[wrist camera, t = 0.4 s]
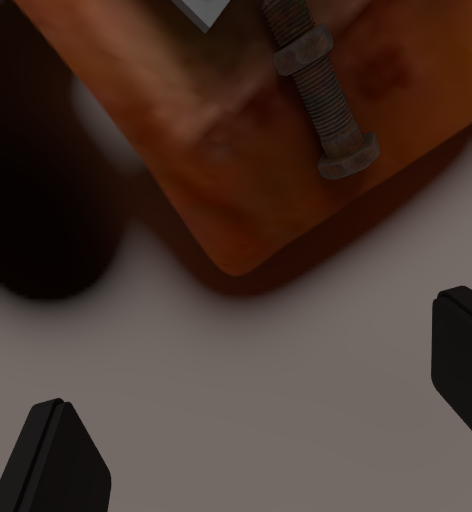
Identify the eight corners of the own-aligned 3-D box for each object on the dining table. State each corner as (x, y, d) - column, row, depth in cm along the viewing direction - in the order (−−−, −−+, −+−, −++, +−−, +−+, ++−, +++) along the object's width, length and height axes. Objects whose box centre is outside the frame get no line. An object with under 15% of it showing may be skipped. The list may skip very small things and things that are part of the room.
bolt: (274, -3, 32) (342, 153, 38) (233, 21, 30) (312, 182, 36) (325, -42, 27) (394, 144, 33) (281, -17, 25) (362, 176, 31)
